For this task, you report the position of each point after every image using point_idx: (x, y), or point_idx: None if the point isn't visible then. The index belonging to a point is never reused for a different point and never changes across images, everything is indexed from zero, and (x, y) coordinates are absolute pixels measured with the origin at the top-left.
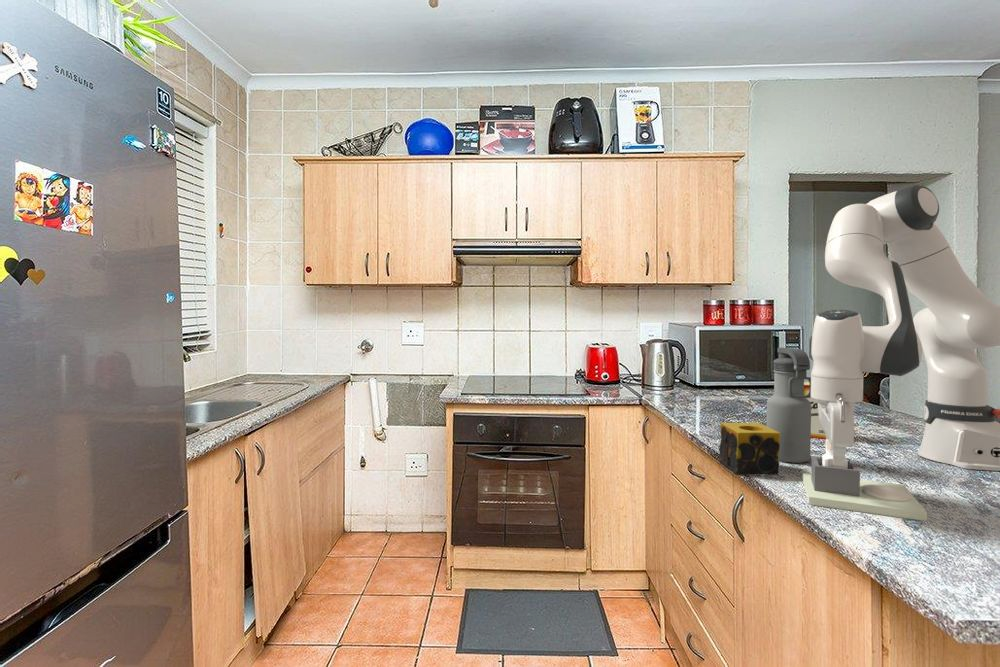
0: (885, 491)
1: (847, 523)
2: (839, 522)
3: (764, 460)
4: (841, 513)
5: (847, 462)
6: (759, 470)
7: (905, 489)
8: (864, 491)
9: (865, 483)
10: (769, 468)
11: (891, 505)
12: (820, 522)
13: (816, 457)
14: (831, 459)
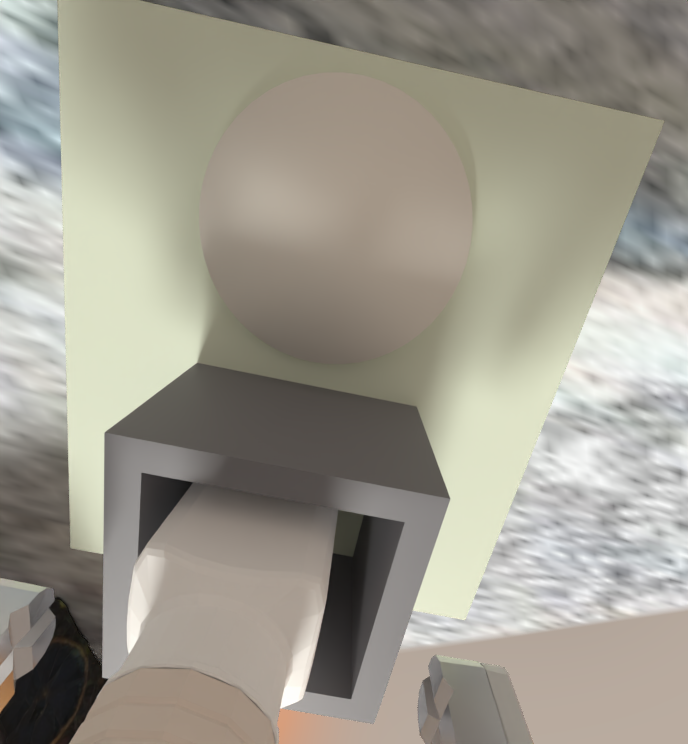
0: (338, 238)
1: (661, 520)
2: (651, 544)
3: (34, 722)
4: (546, 504)
5: (309, 564)
6: (86, 682)
7: (178, 29)
8: (349, 361)
9: (136, 275)
10: (57, 658)
11: (543, 290)
12: (653, 604)
13: (117, 658)
14: (308, 679)
